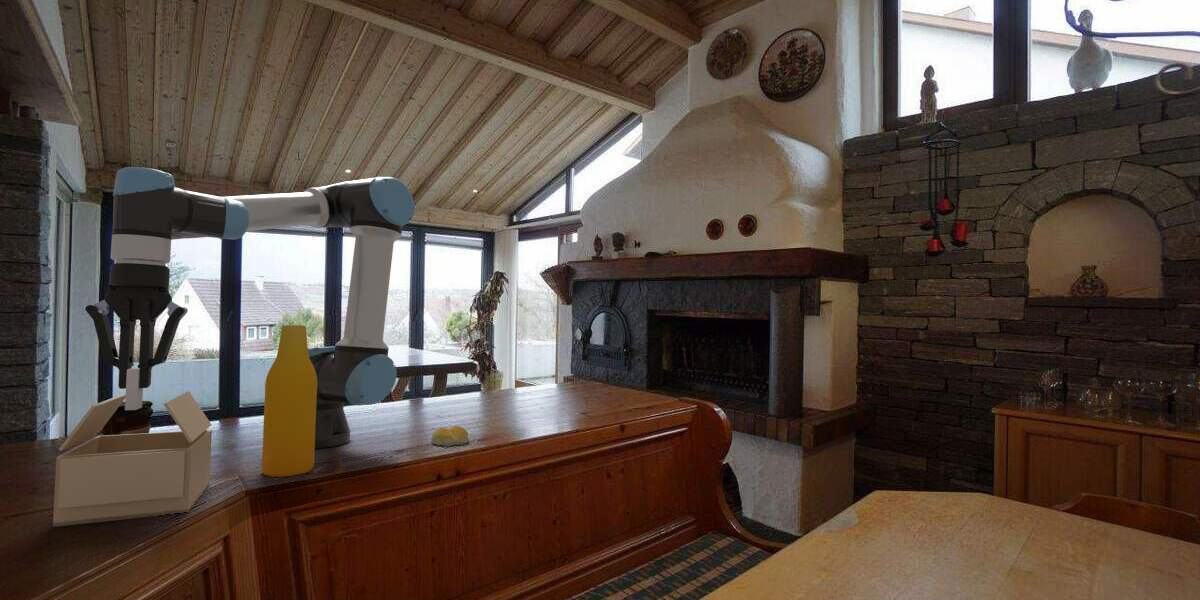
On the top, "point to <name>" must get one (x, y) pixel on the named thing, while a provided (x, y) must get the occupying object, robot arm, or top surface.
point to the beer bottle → (290, 408)
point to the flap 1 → (93, 420)
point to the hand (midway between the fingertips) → (133, 408)
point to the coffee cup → (129, 420)
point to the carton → (130, 477)
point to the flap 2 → (188, 415)
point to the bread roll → (450, 436)
